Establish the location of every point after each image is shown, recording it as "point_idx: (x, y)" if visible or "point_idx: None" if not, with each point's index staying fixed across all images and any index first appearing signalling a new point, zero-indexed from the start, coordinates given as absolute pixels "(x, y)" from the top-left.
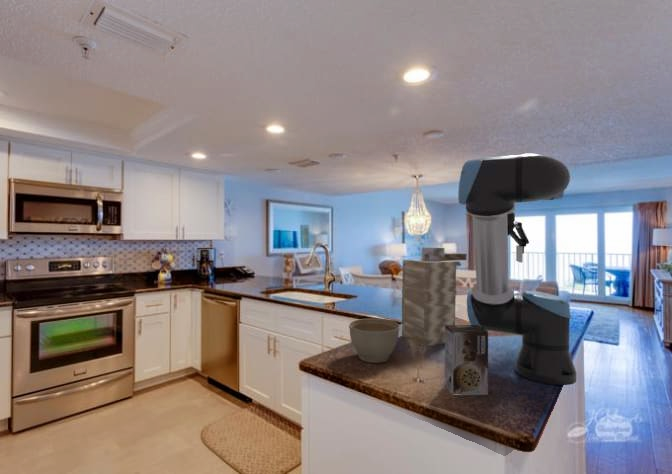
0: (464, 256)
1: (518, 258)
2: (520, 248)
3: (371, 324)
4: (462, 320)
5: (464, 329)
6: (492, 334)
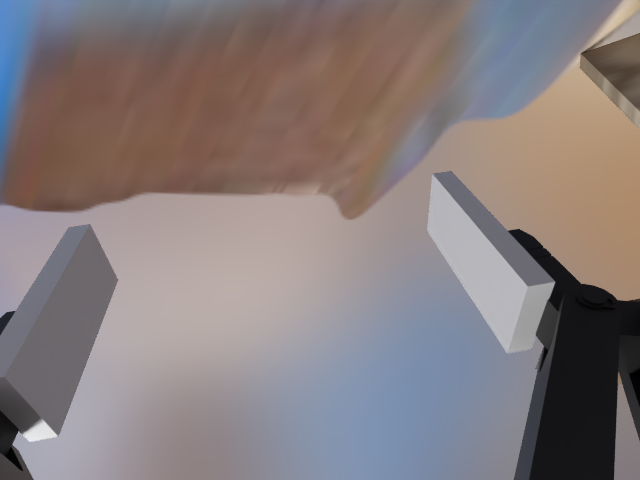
0: None
1: (94, 276)
2: (22, 360)
3: None
4: (341, 201)
5: None
6: (332, 14)
